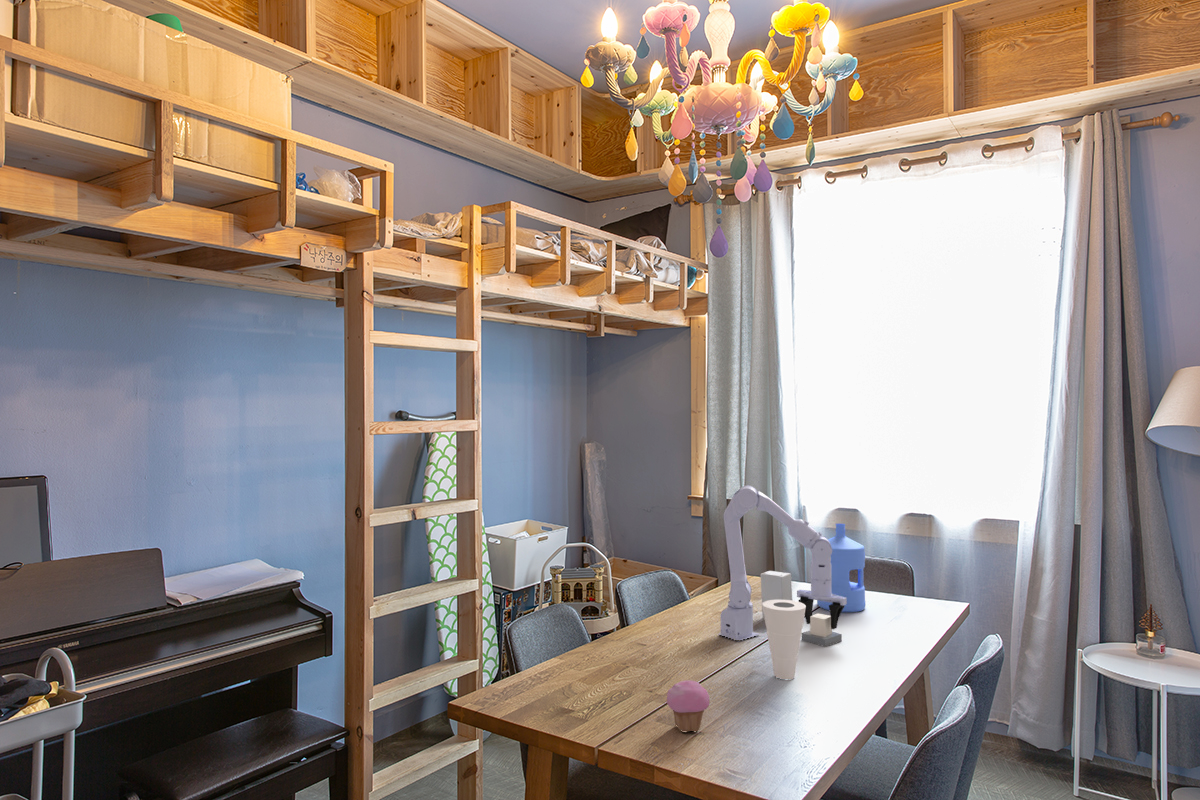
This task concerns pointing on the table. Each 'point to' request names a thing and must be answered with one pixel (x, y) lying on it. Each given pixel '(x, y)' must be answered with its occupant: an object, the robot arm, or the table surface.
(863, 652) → the table surface
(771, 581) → the skincare box
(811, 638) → the base
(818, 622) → the block
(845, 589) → the water jug
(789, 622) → the cup
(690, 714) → the cupcake
